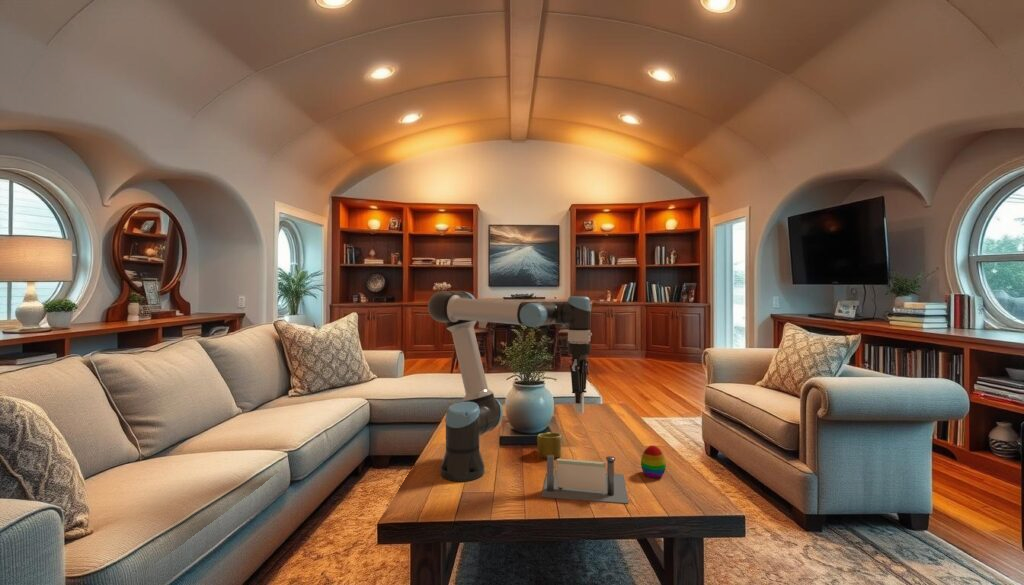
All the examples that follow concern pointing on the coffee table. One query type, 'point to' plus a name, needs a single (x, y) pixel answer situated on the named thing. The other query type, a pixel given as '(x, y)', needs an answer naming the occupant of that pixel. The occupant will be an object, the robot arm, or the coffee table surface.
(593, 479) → the gate
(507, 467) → the coffee table surface
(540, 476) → the coffee table surface
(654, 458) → the decorative egg
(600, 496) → the mat
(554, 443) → the mug
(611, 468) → the hinge post
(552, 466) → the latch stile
